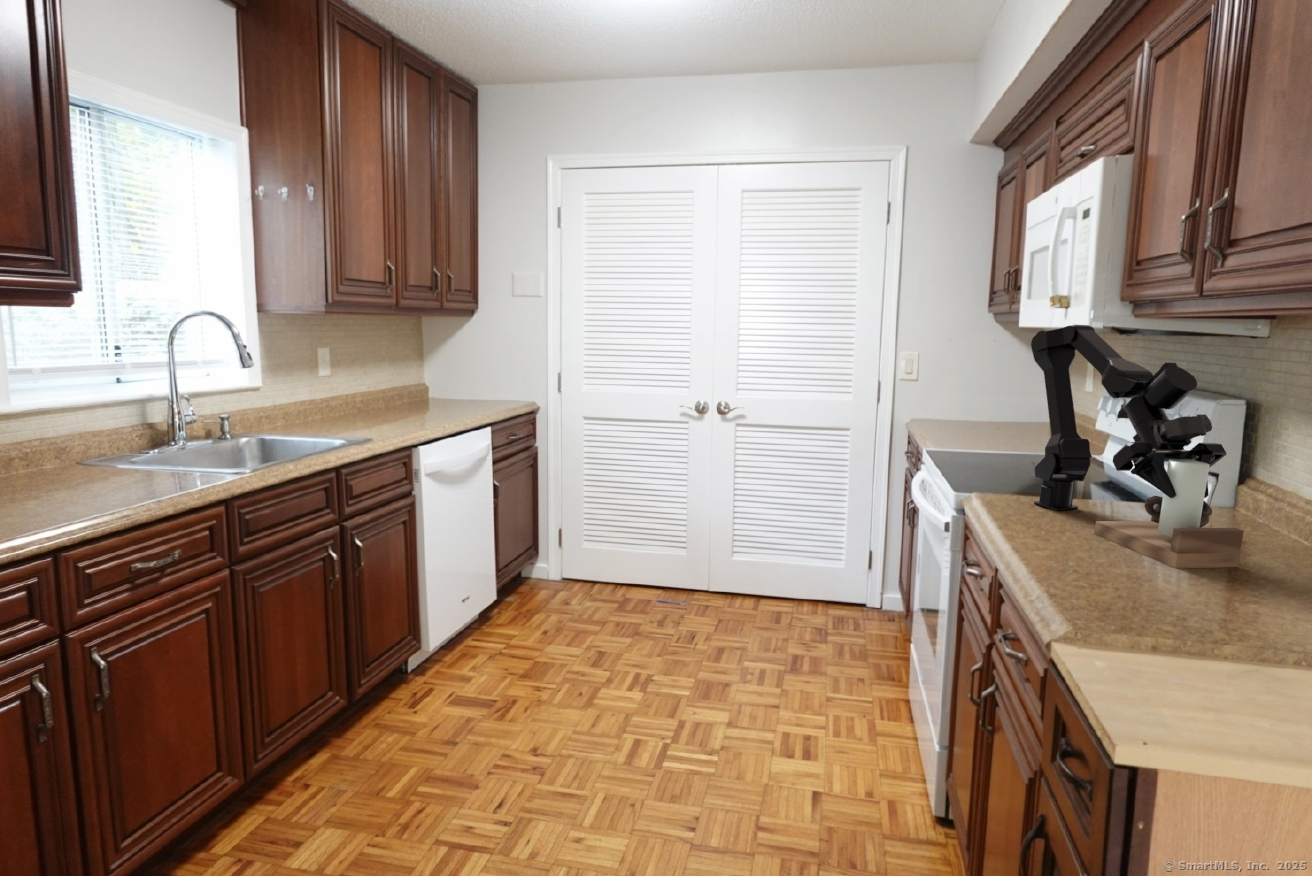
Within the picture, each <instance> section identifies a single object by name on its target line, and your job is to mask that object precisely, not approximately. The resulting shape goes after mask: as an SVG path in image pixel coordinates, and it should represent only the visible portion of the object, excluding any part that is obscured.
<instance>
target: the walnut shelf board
mask: <svg viewBox="0 0 1312 876" xmlns="http://www.w3.org/2000/svg"><path fill="white" fill-rule="evenodd" d="M1158 526H1159V522H1157V521H1151V520H1134V521H1133V520H1119V521H1118V520H1112V521H1111V520H1109V521H1106V520H1104V521H1102V520H1101V521H1099V520H1098V521H1097V520H1096V521H1095V527H1094V531H1093V534H1094V535H1096V536H1098V537H1101V538H1103V539H1105V540H1108V541H1111V542H1113V543H1116V544H1118V545H1120V546H1121V547H1124V548H1126V549H1129V548H1130V550H1132V551H1134V552H1137V553H1139V554H1141V555H1144V556H1146V557H1147V558H1151V559H1153V560H1156V561H1157V562H1160V563H1162V564H1164V565H1168V566H1170V567H1172V568H1175V569H1189V568H1190V569H1193V568H1195V569H1196V568H1197V569H1199V568H1200V569H1201V568H1203V569H1205V568H1211V569H1212V568H1238V566H1239V562H1240V555H1241V549H1242V543H1243V537H1244V532H1245V531H1244V529H1241V528H1238V527H1199V528H1173V535H1172V537H1171V536H1167V535H1164V534H1161V533H1159V532H1158Z"/></svg>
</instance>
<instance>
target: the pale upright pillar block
mask: <svg viewBox="0 0 1312 876" xmlns="http://www.w3.org/2000/svg"><path fill="white" fill-rule="evenodd" d="M1209 466H1210V465H1209V464H1207V463H1204V462H1199V461H1193V460H1185V459H1169V462H1168V463H1167V469H1166V472H1167V474H1168V476H1169V478H1170V480H1171V483H1172V485H1173V487H1174V490H1175V493H1176V496H1175V497H1174V498H1170V497H1168V496H1167V495H1165V494H1164V493H1162V497H1163V500H1162V507H1161V513H1160V520H1159V521H1158V524H1159V526H1158V532H1159V533H1161V534H1164V535H1167V536H1171V537H1172V535H1173V528H1201V527H1200V521H1201V514H1202V508H1203V502H1204V501H1205V498H1204V496H1205V490H1206V484H1207V481H1208V476H1209V471H1210V468H1209Z"/></svg>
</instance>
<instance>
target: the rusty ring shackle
mask: <svg viewBox="0 0 1312 876" xmlns="http://www.w3.org/2000/svg"><path fill="white" fill-rule="evenodd" d="M1162 500H1163V496H1159V495H1152V496H1150V497H1148V498H1147V499H1146V500H1145V502H1144V503H1145V504H1144V509H1145V512H1146V513H1147V514H1148V515H1150V516H1151V518H1150V521H1153V522H1159V520H1160V513H1161V507H1162ZM1154 506H1155V507H1154ZM1211 515H1213V509H1212V507H1211V506H1210V505H1209V503H1207V502H1206V501H1205V500H1204V502H1203V508H1202V514H1201V521H1200V527H1199V528H1204V527H1205V526H1207V525H1208V524H1209V523H1210V516H1211Z"/></svg>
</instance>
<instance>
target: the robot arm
mask: <svg viewBox="0 0 1312 876" xmlns="http://www.w3.org/2000/svg"><path fill="white" fill-rule="evenodd" d="M1030 346H1031V351H1032V355H1033V356H1032V357H1033V359H1034V362H1035V363H1036V365H1037V366H1038V367H1039V368H1040V369H1041V371H1042V372H1043V377H1044V384H1045V386H1044V387H1045V393H1046V401H1047V403H1046V404H1047V410H1048V418H1049V425H1050V438H1049V439H1048V441H1047V443H1046V445H1045V448H1044V457H1043V458H1042V459H1041V460H1040V461H1039V462H1038V463H1037V464H1036V465H1035V466H1034V476H1035V478H1038V479H1040V480H1041V481H1042V482H1041V485H1040V490H1039V491H1040V493H1039V500H1036V501H1035V500H1034V501H1033V504H1034V505H1037V506H1040V507H1044V508H1048V509H1052V510H1054V511H1058V512H1059V511H1066V510H1067V511H1069V510H1079V505H1074V504H1073V501H1074V492H1075V485H1076V482H1084V481H1085V478H1086V476H1087V473H1088V471H1089V468H1090V467H1091V459H1092V458H1093V456H1092V454H1091V446H1090V441H1089V439H1088V438H1082V437H1081V435H1079V433H1078V430H1077V422H1076V415H1075V408H1074V405H1075V404H1074V397H1073V389H1072V384H1071V383H1072V382H1071V374H1070V367H1071V365H1072V364H1073V361H1074V359H1075V357H1076V351H1077V352H1078V353H1079V355H1081V356H1082V357H1083V358H1084V359H1085V360H1086V361H1087V362H1088V363H1089V364H1090V365H1091V366H1092V367H1093V368H1094V369H1095V370H1096V371H1097V372H1098V373H1099V374H1100V375H1101V380H1100V381H1101V385H1102V386H1103V388H1104V389H1105V391H1106V393H1107V394H1108V395H1109V396H1110V397H1111V398H1113V399H1130V400H1129V401H1128V402H1127V403H1125V404H1124V403H1123V404H1121V406H1120V409H1119V411H1118V412H1117V418H1118V419H1128V420H1129V421H1130V423H1131V425H1132V427H1133V430H1134V431H1135V433H1136V434H1135V435H1133V437H1132V439H1133V441H1128V442H1127V443H1126V444H1125V445H1123V446H1122V447H1121V448H1120V449H1119V450H1118V451H1117V452H1116V453H1115V454H1114V455H1113V457H1112V464H1113V466H1114V467H1115V470H1116V471H1117V472H1119V471H1120V472H1123V471H1124V472H1125V471H1126V472H1127V471H1129V472H1130V473H1131V475H1136V476H1137V477H1139V478H1140V479H1142V480H1144V481H1145V482H1147V483H1148V484H1150V485H1151V486H1152V487H1154V488H1155V489H1157V490H1159V491H1160V492H1161V493H1162V494H1165V495H1167V496H1168V497H1170V498H1174V497H1175V496H1176V493H1175V490H1174V487H1173V485H1172V483H1171V480H1170V478H1169V476H1168V474H1167V469H1166V467H1165V463H1167V462H1169V459H1185V460H1193V461H1199V462H1204V463H1207V464H1209V465H1210V466H1209V469H1210V468H1211V467H1212V466H1213V465H1215V464H1216V463H1217V462H1219V461H1220V460H1221V459H1223V458H1224V457H1225V456H1227V455H1228V454H1227V452H1226V449H1225V447H1224V446H1223V445H1222V443H1217V442H1198V443H1197V444H1195V446H1194V447H1192V448H1191V449H1190V450H1186V449H1185V447H1187V446H1189V445H1190V444H1192V440H1191V439H1194V438H1197V437H1205V436H1206V435H1207V433H1209V432H1211V431H1212V429H1213V426H1212V425H1213V424H1212V420H1210V418H1209V417H1208V415H1207V414H1201V413H1200V414H1196V415H1195V416H1193V415H1192V416H1180V417H1175V418H1173V419H1169V417H1168V415H1167V413H1166V412H1165V410H1173V409H1175V407H1176V406H1178V405H1179V404H1180V403H1181V402H1182V401H1183V400H1184V399H1185V398H1187V397H1189V395H1190V394H1191V393H1192V392H1193V391H1194V390H1196V389H1197V386H1198V382H1197V379H1196V377H1195V376H1194V375H1192V374H1191V373H1190V372H1189V371H1187V370H1185V369H1184V368H1182V367H1179V366H1178V364H1177V363H1176V362H1164V363H1163V364H1162V365H1161V367H1160V368H1159V369H1158V371H1156V372H1155V374H1153V372H1151V371H1150V370H1149V369H1147V368H1145V367H1144V366H1142V365H1141V364H1138V363H1136V362H1133V361H1130V360H1126V358H1123V357H1122V356H1121V355H1120V354H1119V353H1118V352H1117V351H1116V350H1115V349H1114V348H1113V347H1112V346H1111V345H1110V344H1109V343H1108V342H1106V341H1105V340H1104V339H1103V338H1102V337H1101V336H1100V335H1099V333H1097V332H1096V330H1095V328H1094V327H1093V326H1090V325H1089V324H1070V325H1066V326H1065V327H1061V328H1057V329H1052V330H1051V329H1050V330H1039V331H1037V333H1036V334H1035V335H1034V336H1033V337H1032V339H1031V341H1030ZM1208 483H1209V481H1208V480H1207V484H1206V490H1205V496H1204V499H1206V498H1207V497H1209V484H1208Z"/></svg>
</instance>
